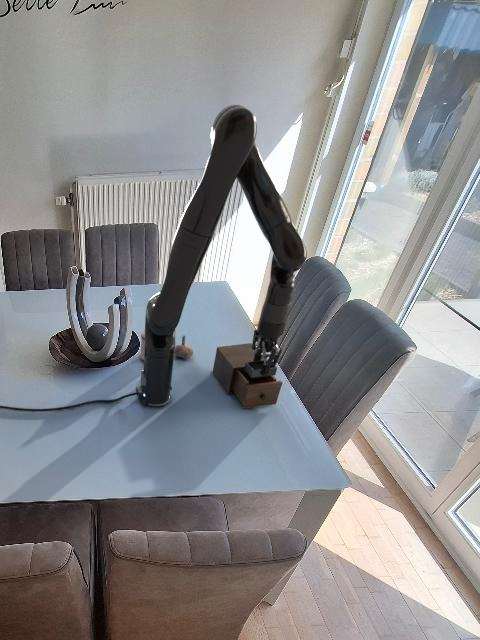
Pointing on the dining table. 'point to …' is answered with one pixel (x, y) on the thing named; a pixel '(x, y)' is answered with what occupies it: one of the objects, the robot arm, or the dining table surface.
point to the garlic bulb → (183, 350)
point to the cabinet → (231, 363)
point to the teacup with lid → (142, 344)
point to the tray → (258, 369)
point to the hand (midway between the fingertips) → (259, 370)
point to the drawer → (255, 389)
